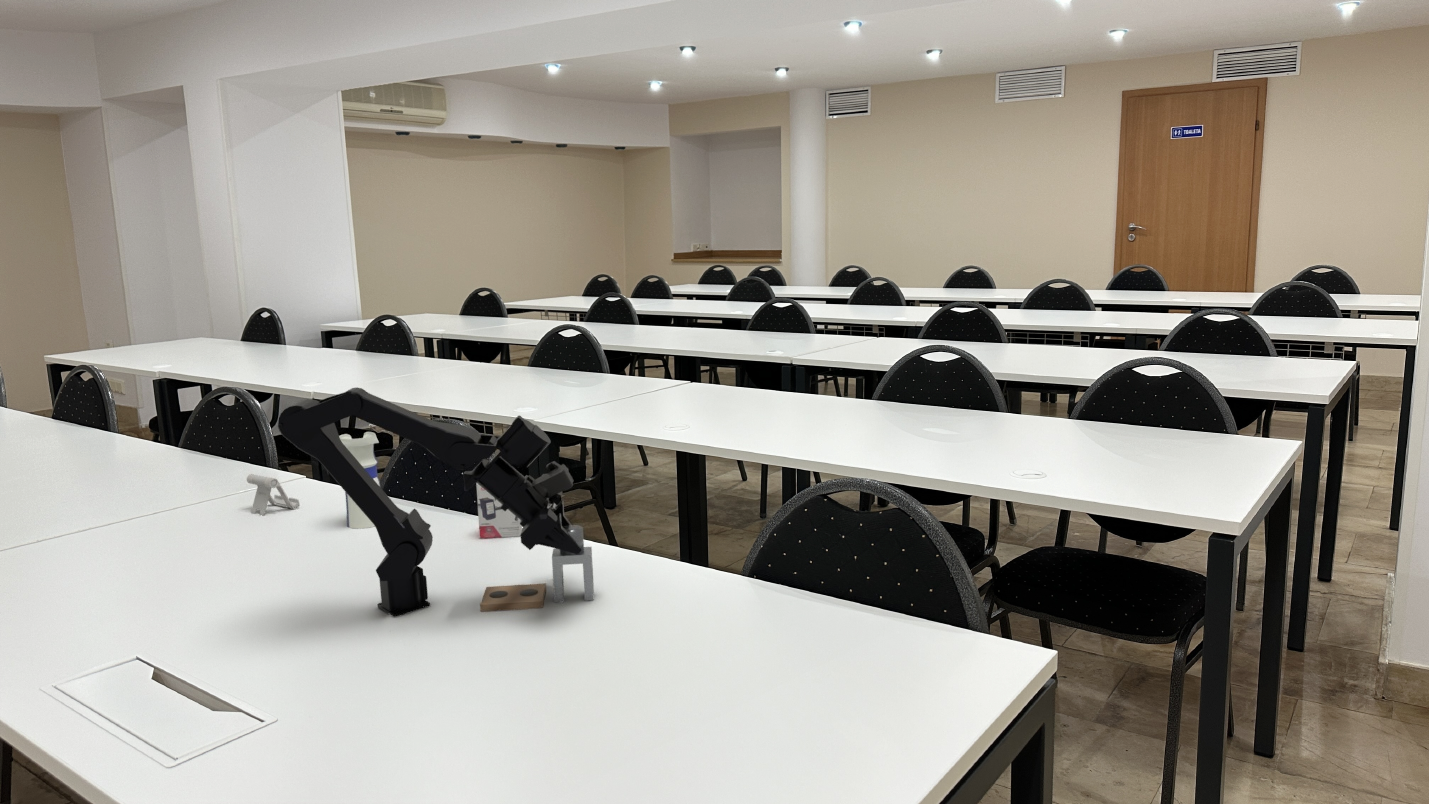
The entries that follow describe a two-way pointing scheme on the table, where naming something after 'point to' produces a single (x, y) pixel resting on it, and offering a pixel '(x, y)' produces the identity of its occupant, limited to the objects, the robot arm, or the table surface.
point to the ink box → (495, 517)
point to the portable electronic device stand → (264, 494)
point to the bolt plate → (513, 597)
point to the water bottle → (366, 457)
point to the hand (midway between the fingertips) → (580, 547)
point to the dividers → (570, 558)
